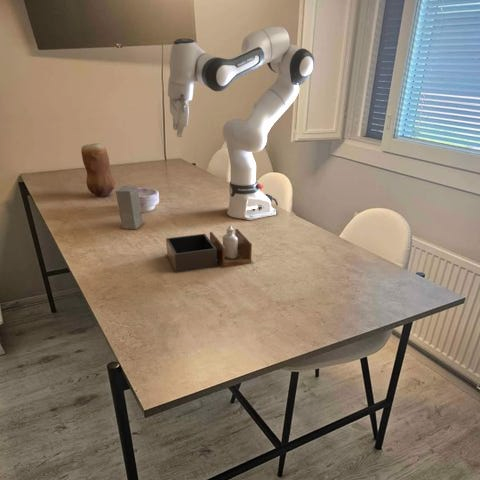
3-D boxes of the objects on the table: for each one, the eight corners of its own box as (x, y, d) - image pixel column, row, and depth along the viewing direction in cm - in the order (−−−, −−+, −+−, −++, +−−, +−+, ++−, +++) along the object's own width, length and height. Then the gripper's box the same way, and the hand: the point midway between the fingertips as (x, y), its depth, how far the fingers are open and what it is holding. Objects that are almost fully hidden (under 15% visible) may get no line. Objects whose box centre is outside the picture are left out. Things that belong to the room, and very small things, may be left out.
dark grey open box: (205, 250, 161) (204, 233, 157) (217, 266, 149) (216, 248, 146) (167, 255, 156) (165, 238, 153) (176, 272, 145) (174, 254, 141)
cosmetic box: (136, 230, 176) (131, 192, 168) (120, 228, 178) (114, 190, 169) (144, 223, 183) (139, 186, 175) (128, 221, 185) (123, 184, 176)
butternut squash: (94, 191, 219) (85, 140, 206) (120, 192, 219) (112, 140, 205) (85, 200, 208) (74, 146, 194) (112, 201, 207) (104, 146, 194)
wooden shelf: (237, 246, 164) (237, 228, 160) (251, 262, 152) (252, 243, 148) (209, 250, 161) (209, 231, 157) (222, 267, 149) (221, 247, 145)
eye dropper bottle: (227, 260, 153) (227, 228, 147) (221, 254, 158) (221, 223, 151) (238, 258, 155) (239, 227, 148) (232, 252, 159) (232, 221, 153)
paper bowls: (147, 201, 208) (146, 185, 203) (166, 209, 199) (164, 192, 194) (120, 208, 199) (117, 191, 194) (138, 216, 190) (136, 199, 185)
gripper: (194, 99, 144) (190, 142, 153) (184, 87, 160) (181, 126, 168) (176, 97, 143) (172, 140, 151) (167, 85, 158) (165, 125, 166)
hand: (177, 133), depth 159 cm, fingers open, 8 cm apart
